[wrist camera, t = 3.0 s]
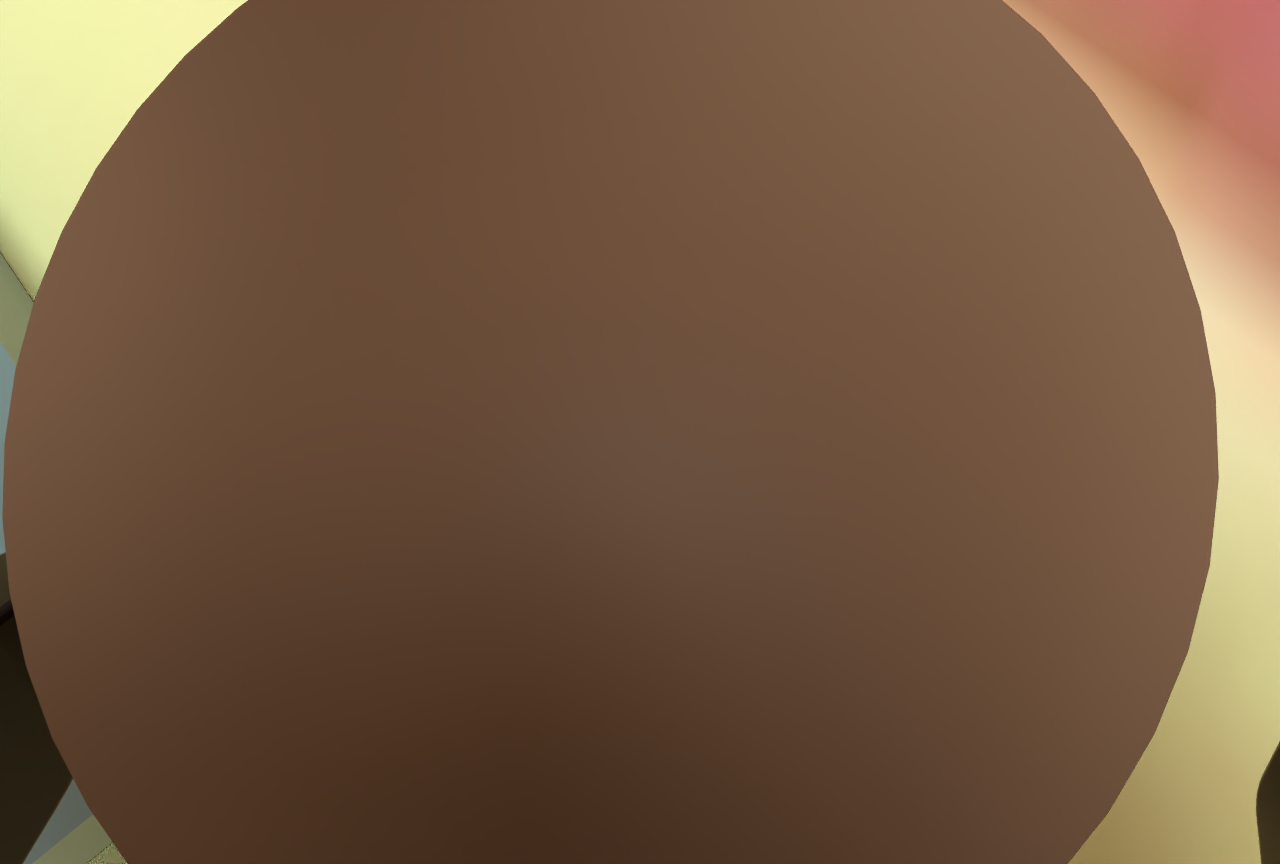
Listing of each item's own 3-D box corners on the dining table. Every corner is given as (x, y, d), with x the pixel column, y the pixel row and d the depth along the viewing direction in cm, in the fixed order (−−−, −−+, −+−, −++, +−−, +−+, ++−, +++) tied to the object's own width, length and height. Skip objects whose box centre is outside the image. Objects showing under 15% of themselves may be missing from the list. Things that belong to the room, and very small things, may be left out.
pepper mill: (714, 823, 17) (443, 1389, 4) (514, 557, 18) (-190, 353, 5) (979, 609, 17) (1523, 507, 4) (762, 356, 18) (661, -338, 5)
